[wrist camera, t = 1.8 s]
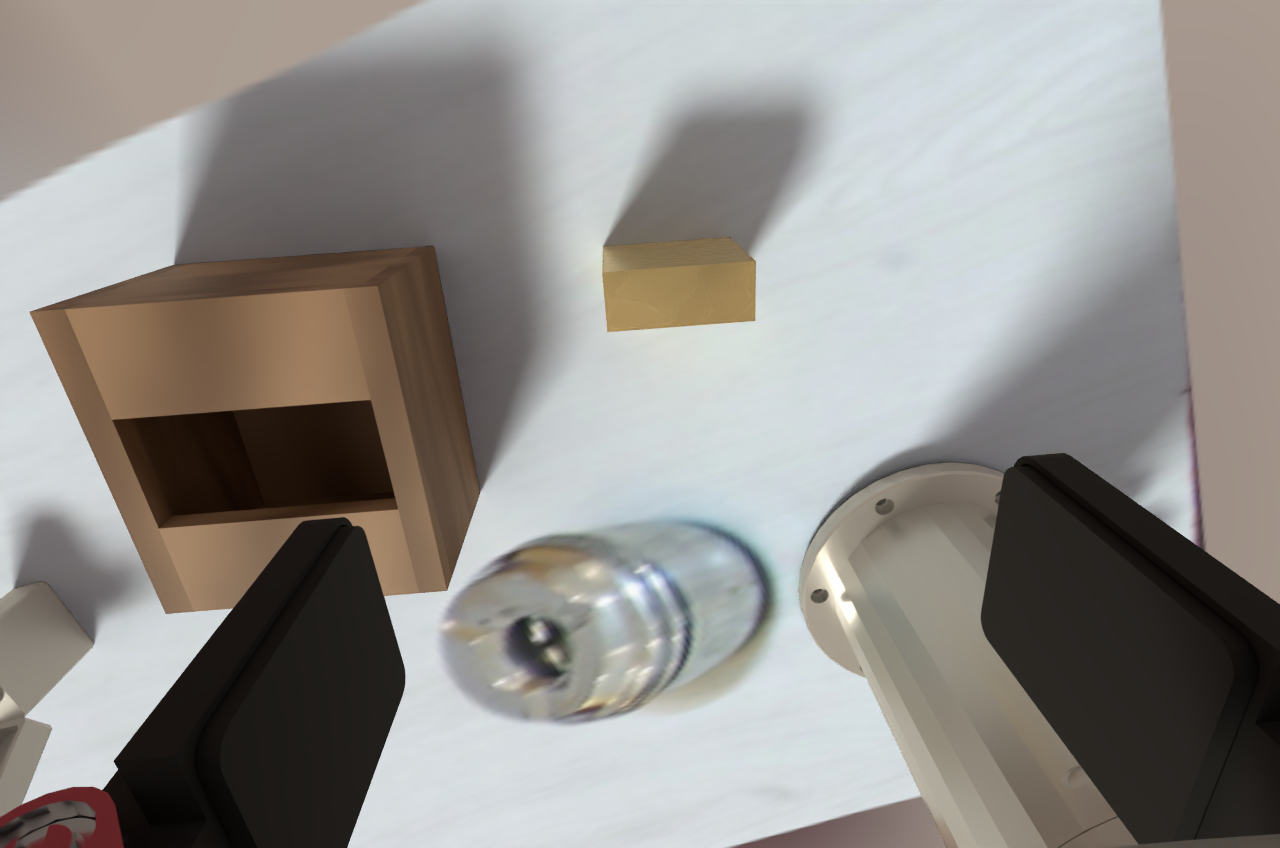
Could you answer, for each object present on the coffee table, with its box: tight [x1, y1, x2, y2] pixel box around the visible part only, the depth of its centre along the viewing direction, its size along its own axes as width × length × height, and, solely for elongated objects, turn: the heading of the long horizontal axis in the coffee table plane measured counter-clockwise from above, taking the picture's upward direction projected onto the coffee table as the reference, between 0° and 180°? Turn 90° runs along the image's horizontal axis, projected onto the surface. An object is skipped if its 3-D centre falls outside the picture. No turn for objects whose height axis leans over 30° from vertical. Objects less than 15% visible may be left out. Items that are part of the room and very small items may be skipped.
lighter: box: [0, 582, 94, 817], centre depth 29 cm, size 7×2×8 cm, turn 14°
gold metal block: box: [602, 237, 756, 332], centre depth 24 cm, size 5×2×5 cm, turn 94°
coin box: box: [30, 246, 480, 614], centre depth 25 cm, size 10×11×7 cm
